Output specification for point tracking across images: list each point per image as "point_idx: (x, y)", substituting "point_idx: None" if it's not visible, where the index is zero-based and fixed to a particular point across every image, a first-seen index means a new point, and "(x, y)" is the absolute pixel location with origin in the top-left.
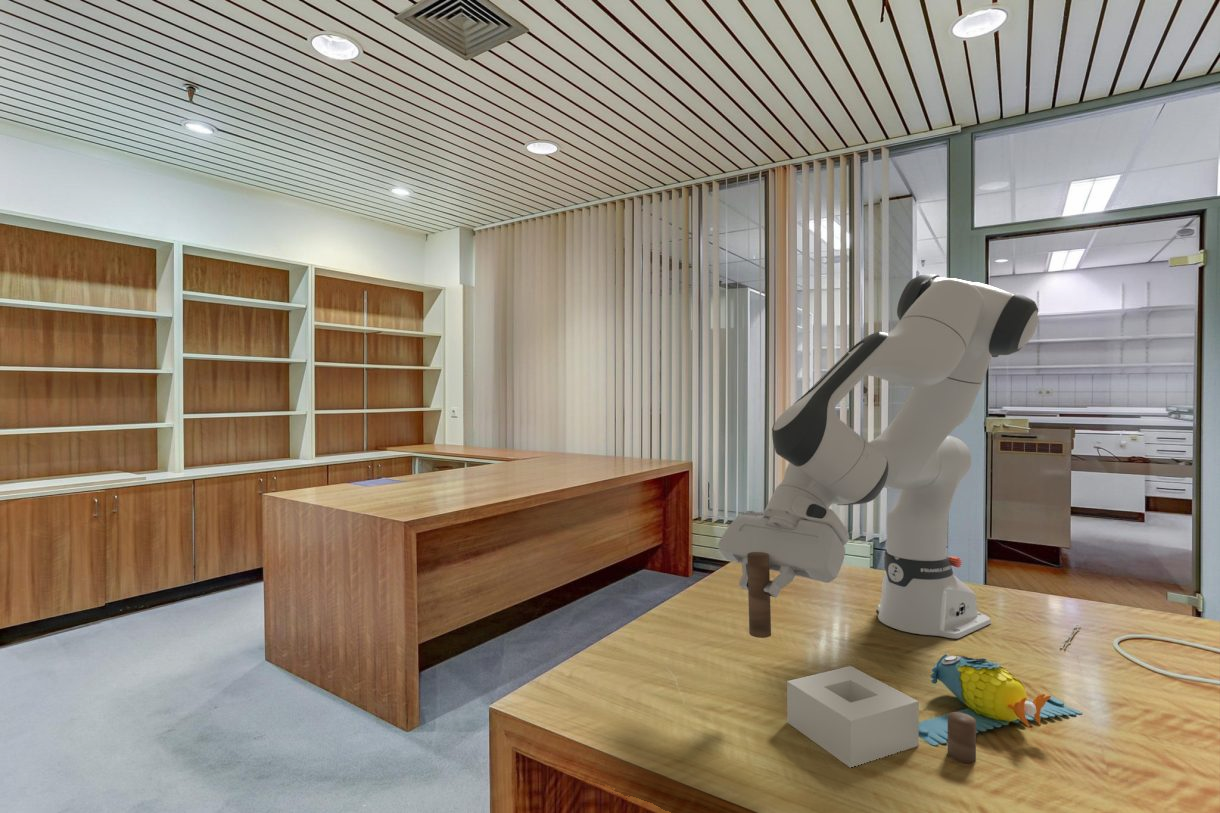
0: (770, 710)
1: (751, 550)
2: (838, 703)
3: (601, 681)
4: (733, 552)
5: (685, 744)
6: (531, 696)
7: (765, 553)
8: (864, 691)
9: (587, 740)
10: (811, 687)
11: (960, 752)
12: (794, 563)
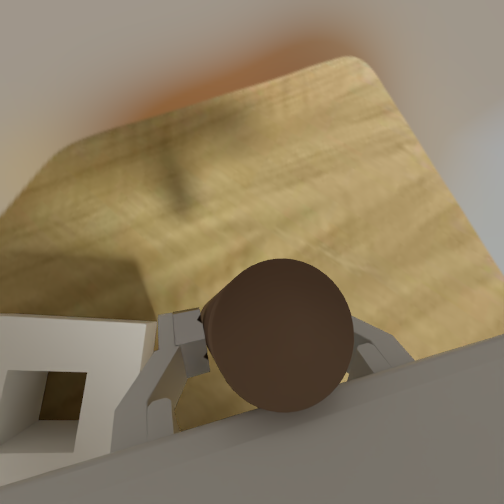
0: None
1: (416, 391)
2: (22, 345)
3: (373, 171)
4: (485, 339)
5: (189, 168)
6: (369, 87)
7: (281, 397)
8: (34, 449)
9: (254, 87)
10: (99, 346)
11: None
12: (38, 483)
